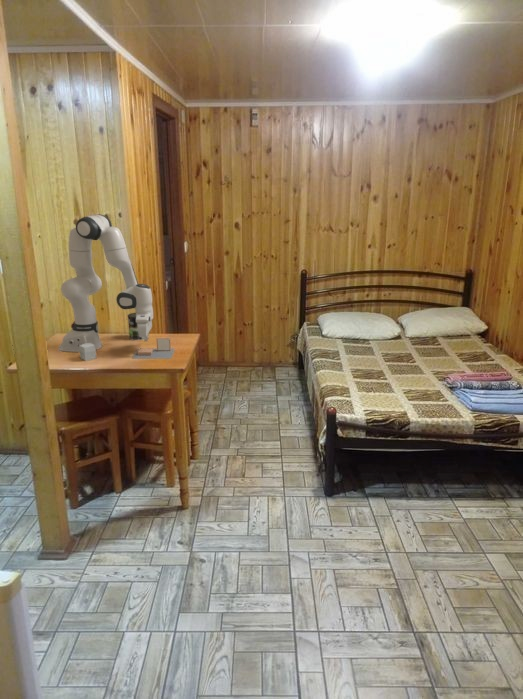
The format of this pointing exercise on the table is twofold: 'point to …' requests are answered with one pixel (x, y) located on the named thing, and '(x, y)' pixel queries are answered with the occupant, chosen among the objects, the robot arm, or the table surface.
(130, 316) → the coffee can
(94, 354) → the skincare box
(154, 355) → the mat
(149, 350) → the tile
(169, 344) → the tile
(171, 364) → the table surface
